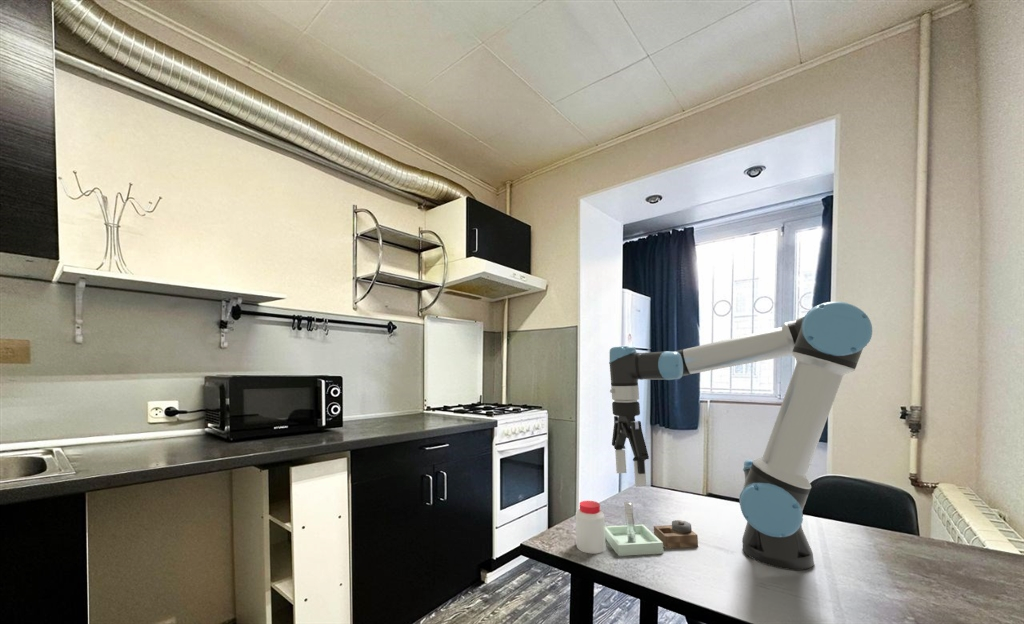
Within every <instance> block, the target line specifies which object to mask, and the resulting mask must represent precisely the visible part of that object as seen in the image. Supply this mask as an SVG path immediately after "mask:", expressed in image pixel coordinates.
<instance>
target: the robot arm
mask: <svg viewBox="0 0 1024 624" xmlns="http://www.w3.org/2000/svg"><path fill="white" fill-rule="evenodd" d="M872 336H873V325H872V322H871V320H870V318H869V316H868V314H866V313H865V312H864V311H863V310H862V309H861V308H859V307H858V306H856V305H853V304H850V303H848V302H843V301H827V302H823V303H820V304H818V305H815V306H814V307H812V308H811V309H809V310H808V311H807V313H805V315H804V316H803V317H800V318H797V319H793V320H790V321H785V322H784V323H783V324H782V326H781V327H776V328H771V329H767V330H763V331H759V332H755V333H750V334H746V335H741V336H737V337H733V338H728V339H724V340H720V341H714V342H710V343H705V344H701V345H696V346H693V347H688V348H682V349H679V350H674V351H670V350H666V351H665V350H664V351H655V352H654V351H652V352H637V349H636V347H635V346H630V345H628V346H627V345H626V346H612V347H611V348H610V349H609V362H608V364H609V372H610V375H609V376H610V385H611V386H610V387H611V389H610V390H609V393H610V394H611V400H612V403H611V404H612V405H611V407H612V408H611V409H612V415H614V416H613V422H614V423H613V429H612V430H613V431H612V439H611V445H612V446H613V448H614V451H615V452H614V453H615V466H616V474H627V461H626V446H625V444H626V442H627V441H626V440H627V439H628V441H629V444H630V445H629V446H630V447H631V452H632V454H633V456H634V457H633V459H632V461H633V471H634V472H633V473H634V484H635V485H634V486H635V487H636V488H637V487H647V475H646V473H647V472H646V460H649V459H650V458H649V453H648V449H647V444H646V441H645V438H644V433H643V430H642V422H641V421H640V420H636V416H637V417H638V416H640V415H641V407H640V401H638V400H640V389H639V387H640V386H639V380H640V381H641V380H651V381H652V380H654V381H655V380H666V381H670V380H671V381H672V380H680V379H681V378H682V377H684V376H689V375H692V374H698V373H699V374H700V373H704V372H710V371H715V370H719V369H725V368H731V367H736V366H742V365H747V364H751V363H757V362H762V361H768V360H772V359H779V358H783V357H789V356H791V357H794V358H795V360H796V364H795V366H794V369H793V372H792V375H791V377H790V381H789V383H788V386H787V389H786V392H785V394H784V398H783V400H782V402H781V405H780V408H779V411H778V413H777V416H776V420H775V421H774V424H773V428H772V431H771V432H770V436H769V439H768V442H767V444H766V446H765V450H764V453H763V456H761V457H760V458H756V459H746V460H745V461H744V462H743V469H742V472H744V484H743V486H742V490H741V492H740V494H739V498H738V500H739V502H738V503H739V507H740V511H741V513H742V515H743V518H745V519H744V520H746V526H745V528H744V531H743V536H742V540H741V543H742V544H741V545H742V550H743V552H744V553H745V554H746V555H747V556H748V557H750V558H751V559H753V560H755V561H757V562H759V563H761V564H765V565H768V566H771V567H774V568H779V569H783V570H784V569H785V570H796V571H800V570H806V569H807V570H808V569H811V568H812V567H813V566H814V564H815V561H814V553H813V550H812V548H811V546H810V544H809V543H810V542H809V541H808V539H807V537H806V534H805V532H804V529H803V527H802V524H803V522H804V521H803V520H804V518H803V517H804V514H803V510H804V508H805V505H806V502H807V500H808V497H809V494H810V492H811V489H812V485H811V483H810V481H809V480H808V478H807V475H808V471H809V469H810V466H811V463H812V460H813V458H814V455H815V453H816V449H817V447H818V445H819V441H820V439H821V437H822V433H823V432H824V428H825V425H826V423H827V420H828V417H829V415H830V413H831V409H832V406H833V403H834V401H835V398H836V396H837V393H838V391H839V388H840V385H841V383H842V380H843V377H844V376H845V375H846V374H850V373H853V372H854V371H856V368H857V366H858V362H859V360H860V358H861V355H862V353H863V350H864V348H866V347H867V346H868V344H869V343H870V342H871V340H872Z"/></svg>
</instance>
